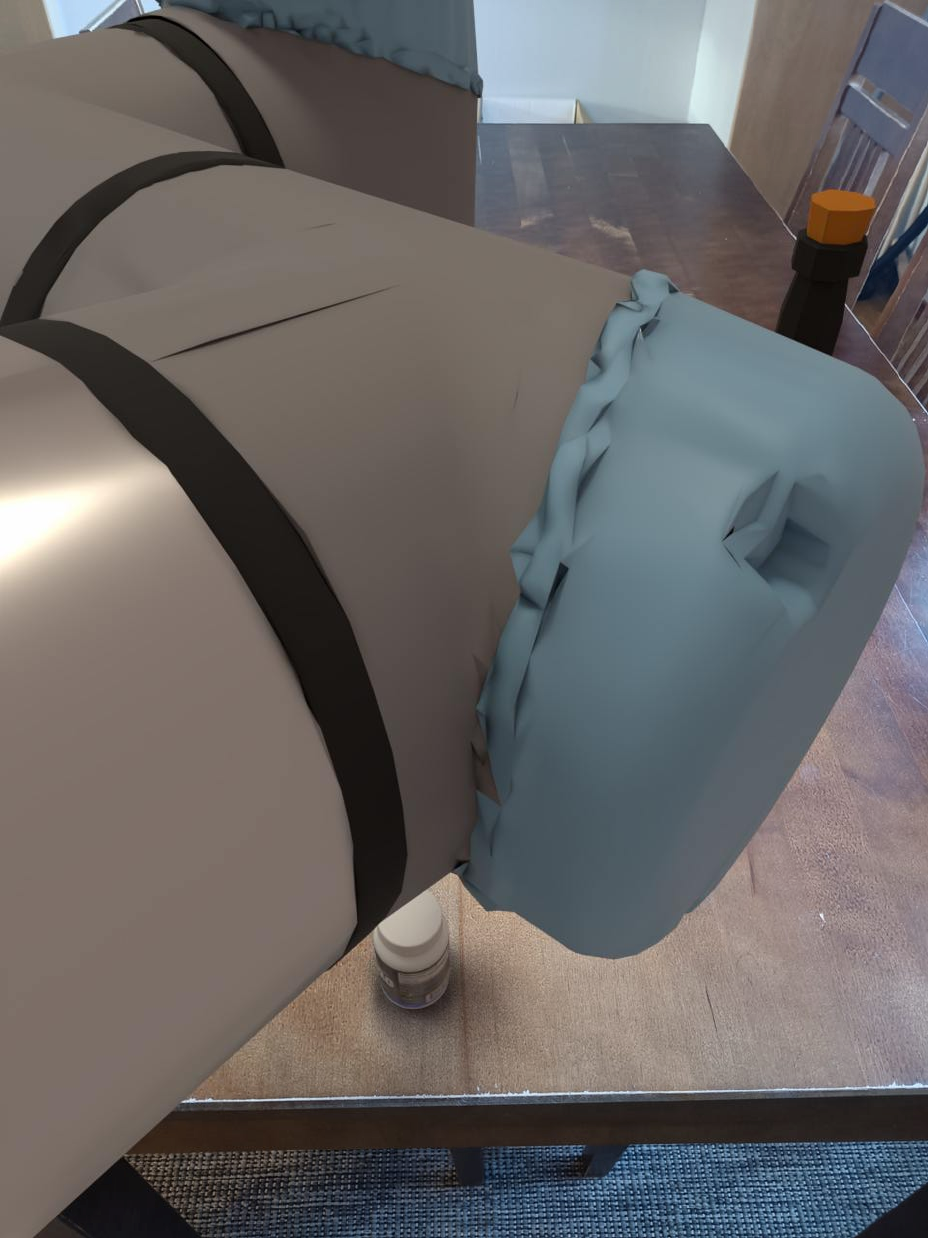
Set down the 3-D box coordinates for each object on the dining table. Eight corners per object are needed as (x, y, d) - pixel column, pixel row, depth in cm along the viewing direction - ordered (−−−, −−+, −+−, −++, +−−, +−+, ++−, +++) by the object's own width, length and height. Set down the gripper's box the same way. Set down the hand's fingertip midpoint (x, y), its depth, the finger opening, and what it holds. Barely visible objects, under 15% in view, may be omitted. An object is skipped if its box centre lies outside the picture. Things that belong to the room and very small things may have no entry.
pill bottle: (373, 950, 61) (363, 887, 55) (441, 934, 62) (438, 871, 56) (386, 1019, 58) (377, 960, 52) (457, 1002, 58) (456, 942, 52)
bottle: (866, 518, 95) (980, 229, 74) (716, 530, 93) (788, 239, 72) (807, 435, 106) (891, 164, 85) (672, 445, 105) (723, 172, 84)
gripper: (480, 294, 40) (478, 631, 55) (-17, 620, 25) (164, 957, 40) (632, 340, 37) (586, 683, 52) (164, 740, 22) (288, 1057, 37)
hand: (401, 803), depth 46 cm, fingers open, 13 cm apart
